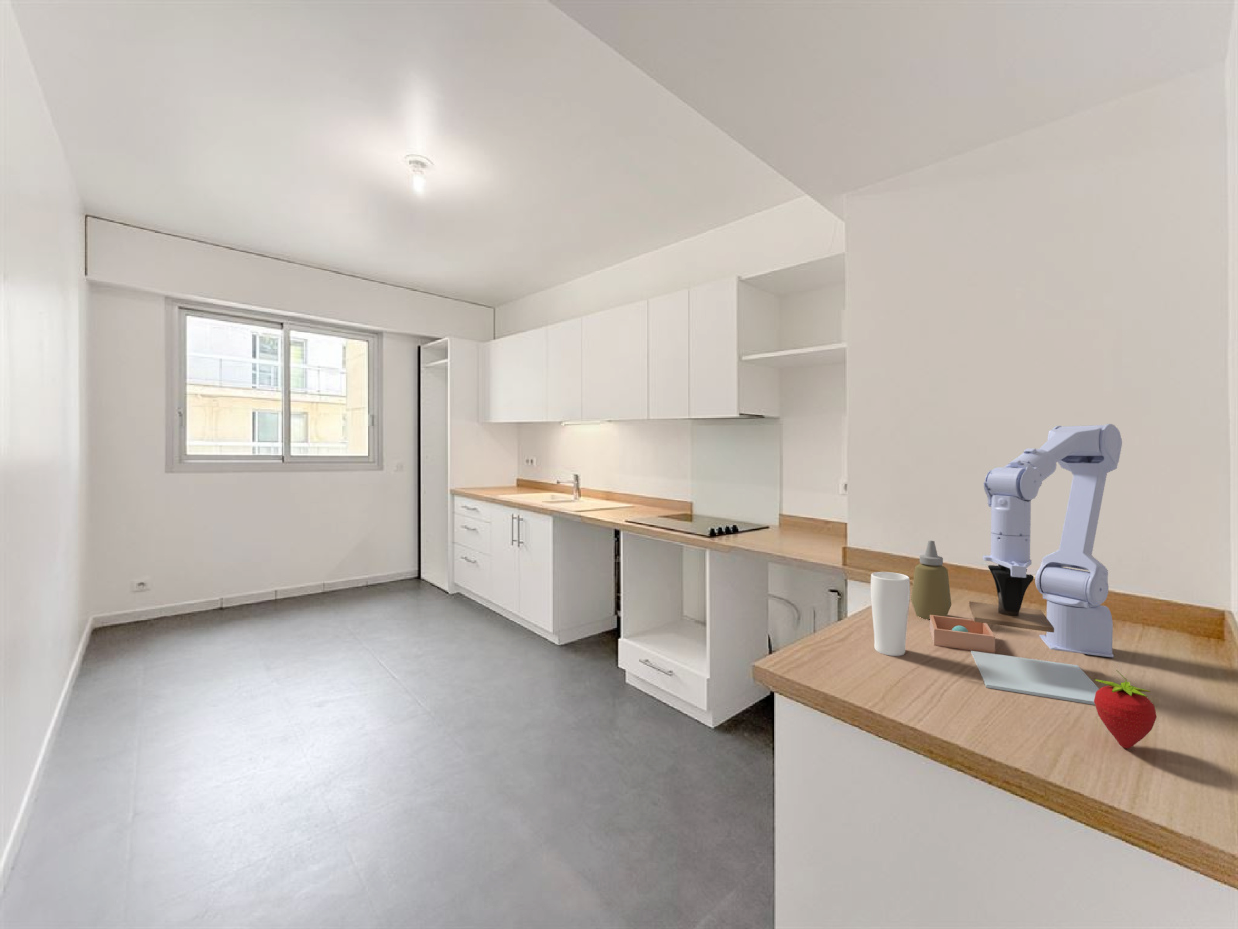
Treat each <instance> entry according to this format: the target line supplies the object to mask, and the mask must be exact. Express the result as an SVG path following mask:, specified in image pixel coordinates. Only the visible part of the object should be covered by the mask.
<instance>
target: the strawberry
mask: <svg viewBox="0 0 1238 929" xmlns="http://www.w3.org/2000/svg"><path fill="white" fill-rule="evenodd" d="M1115 670H1116V672H1117V673H1118V674H1119V675H1120V676H1121V677H1122V678H1123V679H1124V680H1125V681H1123V682H1122V681H1121V682H1120V684H1119V683H1116V682H1114V681H1107V680H1101V679H1094V681H1096V682H1098V683H1100V684H1104V686H1102V687H1100V688H1099V690H1097V691H1096V694H1095V699H1094V703H1095V705H1094V707H1095V708H1096V712H1097V715H1098V717H1099V719H1100V720H1101V722H1102V723H1103V724H1104V726H1105V728H1106V729H1107V730H1108V731H1109V733H1110V734H1111V735H1112V736H1113V737H1114V739H1115V741H1117V743H1118V744H1119V745H1120V746H1121V747H1122V748H1123V749H1131V748H1133V747H1134V745H1136V744H1137V743H1139V742H1140V741H1142V740H1143V739H1144V738H1145V737H1146V736H1147V735H1148V734H1149V733H1150V732H1151V731H1152V730H1153V728H1154V725H1155V723H1156V720H1157V716H1158V715H1157V711H1156V707H1155V705H1154V704H1153V702H1152V701H1151V700H1150V699H1149V697H1148V695H1146V694H1144V693H1145V692H1146V693H1150V692H1151V690H1148V689H1144V688H1139V687H1137V686H1133V685H1131V683H1130V681H1128V679H1127V678H1126V677H1124V676H1123V675H1122V674H1121V673H1120V672H1119V671H1118V670H1117V669H1115Z"/></svg>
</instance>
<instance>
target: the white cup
mask: <svg viewBox="0 0 1238 929" xmlns="http://www.w3.org/2000/svg"><path fill="white" fill-rule="evenodd" d="M910 580H911V579H910V576H908V575H906V574H903V573H899V572H898V573H897V572H892V571H891V572H890V571H874V572H872V573H871V574H870V602H871V603H870V604H871V614H872V615H871V617H872V625H873V626H872V627H873V639H874V640H873V643H874V646H873V647H874V649H875V651H876V652H877V653H880V654H881V655H886V656H889V657H901V656H903V655H905V653H906V641H907V630H908V621H909V612H910V611H909V609H910V601H911V584H910V582H911V581H910Z"/></svg>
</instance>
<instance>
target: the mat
mask: <svg viewBox="0 0 1238 929" xmlns="http://www.w3.org/2000/svg"><path fill="white" fill-rule="evenodd" d="M970 653H971V655H972V657H973V660H974V663H975V664H976V666H977V668H978V671H979V673H980V675H981V678H982V679H983V683H984V685H985V688H986V689H987V688H988V689H993V690H994V689H995V690H998V691H999V690H1000V691H1005V692H1012V693H1018V694H1025V695H1030V696H1037V697H1042V698H1043V697H1044V698H1050V699H1055V700H1062V701H1067V702H1074V703H1075V702H1076V703H1081V704H1086V705H1092V706H1095V703H1094V699H1095V694H1096V691H1097V690H1099V689H1100V688H1099V687H1098V685H1096V684H1095V683H1094V681H1093V680H1092V679H1091V678H1090V677H1089V676H1088V675H1087V674H1086V673H1085V672H1084V670H1083V669H1081V667H1080V666H1079V665H1078V664H1071V663H1065V662H1056V661H1048V660H1043V659H1035V658H1027V657H1020V656H1012V655H1006V654H1005V655H1004V654H997V653H987V652H980V651H973V650H970Z"/></svg>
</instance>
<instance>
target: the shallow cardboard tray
mask: <svg viewBox="0 0 1238 929" xmlns="http://www.w3.org/2000/svg"><path fill="white" fill-rule="evenodd" d="M955 626H963V627H965V628H966V629H967V630H968V632H961V631H952V629H953V628H954V627H955ZM929 631H930V632H929V633H930V636H931V639H932V643H933V646H936V647H937V646H938V647H946V648H953V649H959V650H965V651H977V652H984V653H992V654H996V635H995V634H994V633H993V631H992V629H991V628H990V626H989V624H987V623H980V622H974V619H973V618H972V619H969V618H962V617H961V618H960V617H952V616H947V617H945V616H937V615H930V620H929Z"/></svg>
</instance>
